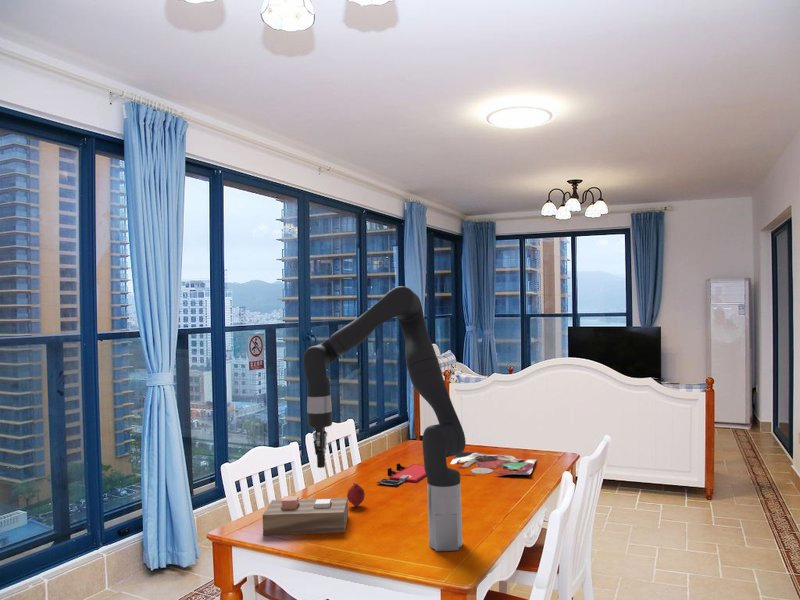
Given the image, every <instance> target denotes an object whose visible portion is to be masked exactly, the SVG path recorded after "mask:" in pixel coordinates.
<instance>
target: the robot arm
mask: <svg viewBox="0 0 800 600" xmlns="http://www.w3.org/2000/svg"><path fill="white" fill-rule="evenodd" d="M422 306H423V305H422V302H421V300H420V297H419V296H418V295H417V294H416V293H415V292H414V291H413V290H412V289H411V288H409V287H407V286H403V285H400V286H396V287H394V288H392V289H391V290H389V291H388V292H387V293H386V294H385V295H383V297H381V298H380V299H379V300H378V301H377V302H375V303H374V304H373V305H372V306H371V307H370V308H368V309H367V310H366V311H365V312H363V313H362V314H361V315H360V316H358V317H357V318H355V319H354V320H353V321H351V322H349V323H348V324H347V325H345V326H343V327H342V328H340V329H338V330H337V331H336V332H334V333H332V334H331V335H330V337H329V338H328V339H326V340H324V341H323V342H321V343H319V344H317V345H313V346H310V347H308V348H307V349H306V350H305V352H304V354H303V369H304V374H305V377H306V383H307V385H306V386H307V387H306V390H307V392H306V393H307V402H306V408H307V409H306V415H307V426H308V427H309V428H314V431H313V433H312V438H313V446H314V450H315V451H314V452H315V453H314V454H315V455H316V464H317V465H316V467H317V468H318V469H319V468H320V469H322V468H325V467H326V456H325V455H326V452H327V445H328V444H327V437H328V431H327V430H326V428H329V427H331V426H332V425H333V410H332V407H333V406H332V404H333V403H332V398H331V397H332V395H331V381H330V378H329V377H328V376H327V370H326V368H327V366H328V365H330V364H332V363H333V362H334V361H336V360H338V358H339V357H341V356H342V355H344V354H346V353H348V352H350V351H351V350H352V349H354V348H356V347H357V346H359V345H360V344H362V343H363V342H365V340H366V339H368V337H370V335H371V334H372V333H373V332H374V331H375V330H376V329H377V328H378V327H379V326H381V325H382V324H384V323H385V322H387V321H390V320H391V319H394V318H396V319H397V321H398V323H399V325H400V328H401V330H402V335H403V337H404V344H405V346H404V347H405V349H404V350H405V351H404V355H405V364H406V367H407V368H406V369H407V372H408V374H409V375H408V376H409V378H410V382H411V384H412V386H413V388H414V389H415V390H416V392H417V393H418V394H419V395H420V396H421V397H422V398H423V399H424V400H425V401H426V402H427V403H428V405H430V407H431V409H432V410H433V412H434V414H435V416H436V418H437V422H438V424H437V423H436V424H432V425H429V426H426V428H425V429H424V431H423V434H422V440H421V441H422V443H421V444H422V455H423V465H424V468H425V473H426V481H427V482H426V484H427V487H426V490H427V517H428V518H427V520H428V521H427V522H428V525H427V526H428V545H429V547H430V548H432V549H433V550H435V552H449V551H453V552H454V551H459V550H460V549H461V548H462V546H463V522H462V521H463V519H462V518H463V517H462V494H461V493H462V491H461V490H462V489H461V486H462V485H461V483H462V482H461V473H460V471H459V470H457V469H455V468H452V467H448V465H447V458H450V457H456V455H459V454H461V453H462V452H465V449H466V436H465V432H464V430H463V426H462V424H461V421H460V419H459V417H458V415H457V412H456V410H455V407H454V404H453V402H452V399H451V396H450V395H449V391H448V388H447V385H446V382H445V380H444V379H445V378H444V375H443V373H442V369H441V365H440V363H439V359H438V357H437V354H436V351H435V348H434V345H433V343H432V340H431V338H430V335H429V332H428V330H427V327H426V320H425V316H424V312H423V307H422Z"/></svg>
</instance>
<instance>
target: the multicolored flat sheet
mask: <svg viewBox="0 0 800 600" xmlns="http://www.w3.org/2000/svg"><path fill="white" fill-rule="evenodd" d="M536 462H537V459H523V458H519V457H517V456H513V455H505V454H486V453H481V452H475V451H467V452H465V451H463V452H462V453H461V454H459V455H455V456H454V457H453V459H452V460H451V462H450V465H460V466H458V467H457V468H458V469H463V470H464V469H469V468H470V467H472V466H473V465H475V466H477V467H475V468H472V469H470V470H469V472H470V473H471V474H469V473H468V474H465V476H472V477H474V476H475V477H476V475H491V474H493V475H495V476H494V478H495V477H498V476H499V477H504V476H507V475H524V476H525V475H527V476H529V475H531V473H533V469H534V467H535V463H536ZM499 468H502V470H496V469H499Z"/></svg>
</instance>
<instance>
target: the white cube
mask: <svg viewBox="0 0 800 600" xmlns="http://www.w3.org/2000/svg"><path fill="white" fill-rule="evenodd" d="M316 499H317V500H316V502H315V508H331V499H323V498H316Z"/></svg>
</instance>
